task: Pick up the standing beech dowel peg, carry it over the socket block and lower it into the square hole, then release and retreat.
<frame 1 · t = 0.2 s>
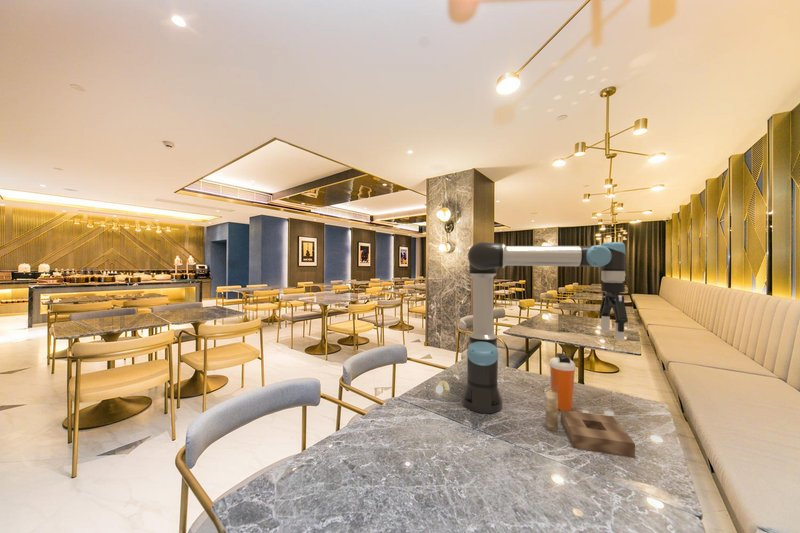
hand: (612, 336, 117), 28 cm above the table, fingers open, 13 cm apart
socket block: (593, 437, 97), on the table
peg: (551, 428, 102), on the table
shaker bottle: (561, 407, 117), on the table
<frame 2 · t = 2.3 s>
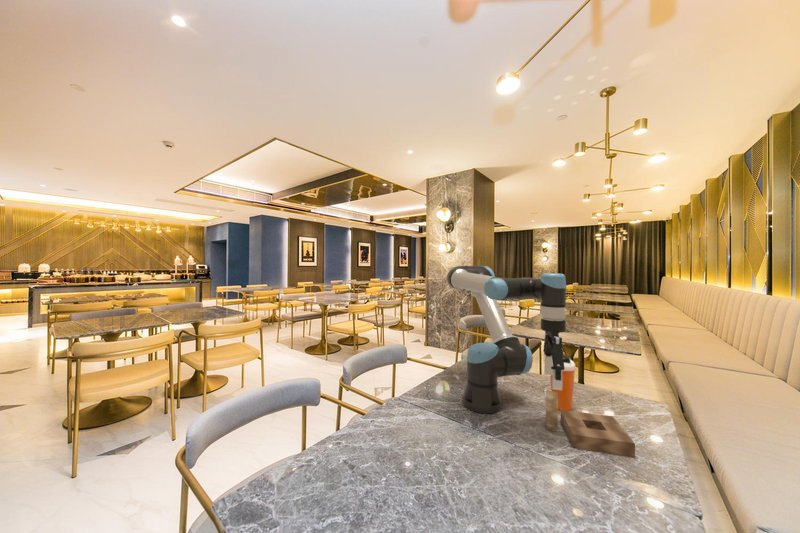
hand: (552, 381, 101), 16 cm above the table, fingers open, 13 cm apart
nothing on the table moved.
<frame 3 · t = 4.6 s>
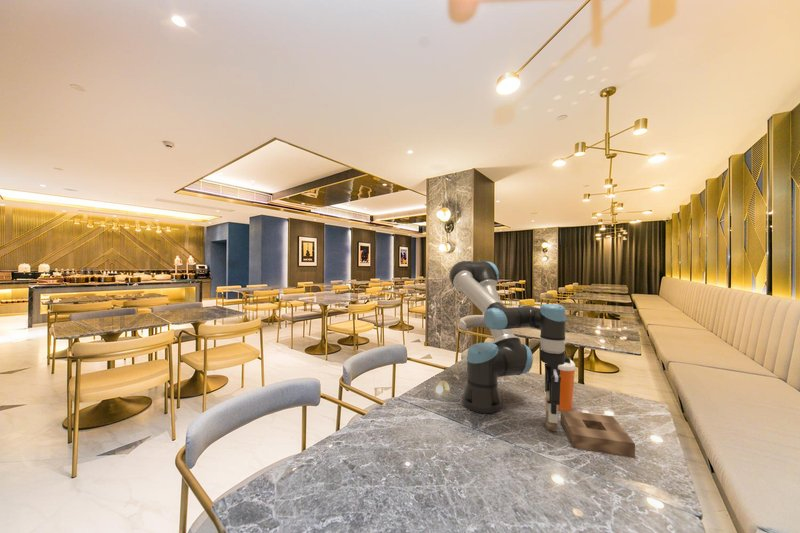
hand: (551, 419, 102), 3 cm above the table, fingers closed on peg, 3 cm apart
peg: (551, 427, 102), on the table, touching gripper
everything else where it was.
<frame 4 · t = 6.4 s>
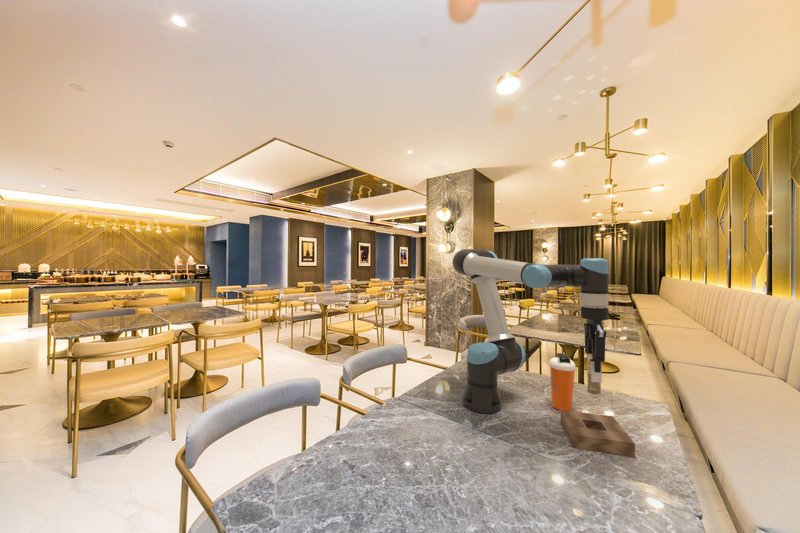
hand: (594, 379, 96), 19 cm above the table, fingers closed on peg, 3 cm apart
peg: (594, 392, 96), point 15 cm above the table, touching gripper
everything else where it was.
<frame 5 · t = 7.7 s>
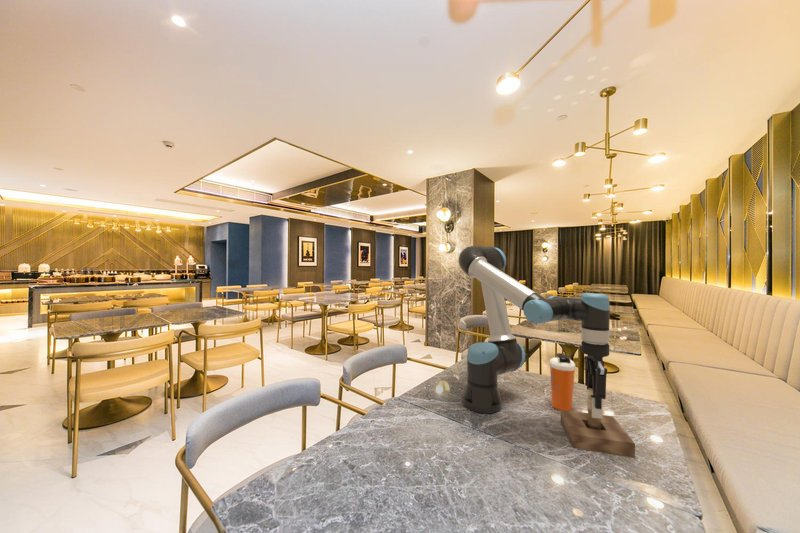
hand: (594, 414, 96), 7 cm above the table, fingers closed on peg, 3 cm apart
peg: (594, 427, 96), point 3 cm above the table, touching gripper
everything else where it was.
when the fingers open (5 cm above the table, at t = 8.6 s): peg drops 1 cm, resting in socket block.
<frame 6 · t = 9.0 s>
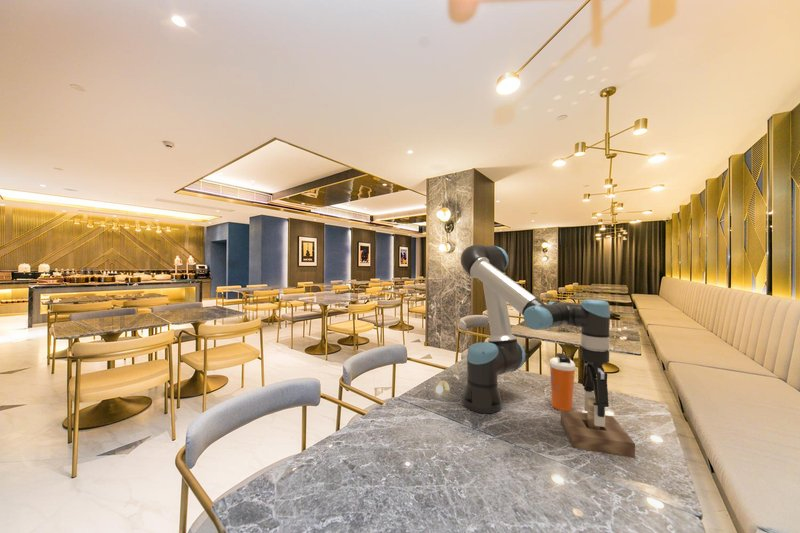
hand: (594, 418, 97), 6 cm above the table, fingers open, 9 cm apart
peg: (593, 437, 97), resting in socket block
everything else where it was.
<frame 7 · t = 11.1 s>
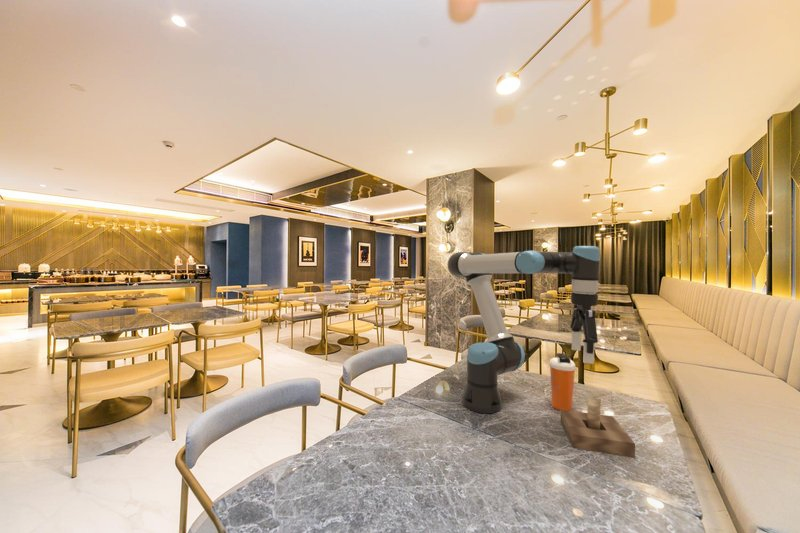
hand: (581, 356, 100), 25 cm above the table, fingers open, 13 cm apart
nothing on the table moved.
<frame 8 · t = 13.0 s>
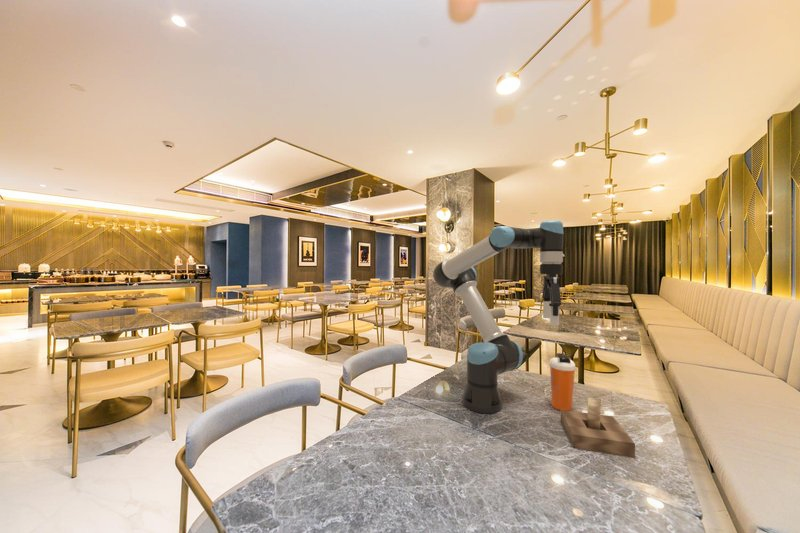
hand: (550, 321, 110), 35 cm above the table, fingers open, 13 cm apart
nothing on the table moved.
at the end: peg 0.1 cm off-centre on the socket block, point 0.0 cm above the socket block's base; peg tilted 0°; the gripper is holding nothing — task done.
